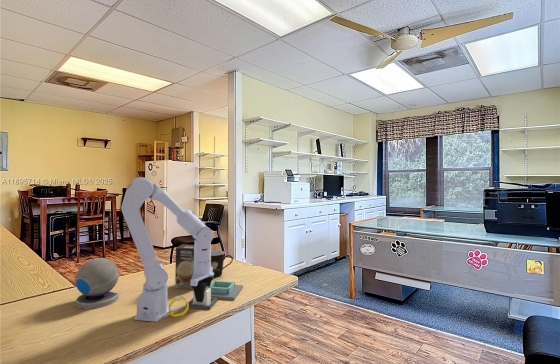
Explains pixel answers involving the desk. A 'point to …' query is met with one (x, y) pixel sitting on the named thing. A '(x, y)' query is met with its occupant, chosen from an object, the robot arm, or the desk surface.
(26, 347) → the desk surface
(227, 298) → the dock
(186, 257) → the coffee box
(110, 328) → the desk surface
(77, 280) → the webcam
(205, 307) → the tray
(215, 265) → the coffee mug
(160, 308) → the robot arm
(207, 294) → the plug
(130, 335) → the desk surface
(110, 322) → the desk surface
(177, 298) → the watch
